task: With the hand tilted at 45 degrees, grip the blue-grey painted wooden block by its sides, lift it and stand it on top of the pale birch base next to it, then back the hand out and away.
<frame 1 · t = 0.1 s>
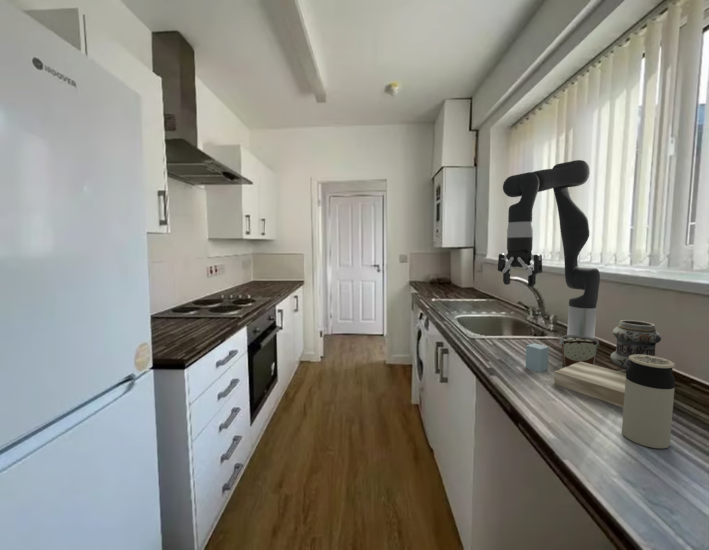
hand: (518, 285, 111), 29 cm above the countertop, tool pointing down, fingers open, 8 cm apart
food container: (574, 365, 119), on the countertop
blue-grey block: (536, 368, 115), on the countertop
birch base: (599, 388, 99), on the countertop
apothecary jar: (632, 378, 107), on the countertop
travel mug: (644, 439, 74), on the countertop
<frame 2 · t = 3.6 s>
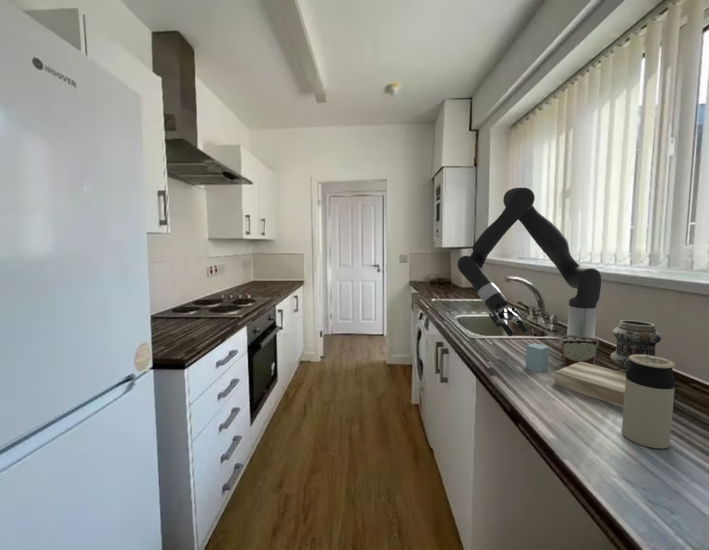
hand: (519, 333, 120), 11 cm above the countertop, tool tilted 45°, fingers open, 8 cm apart
nothing on the countertop moved.
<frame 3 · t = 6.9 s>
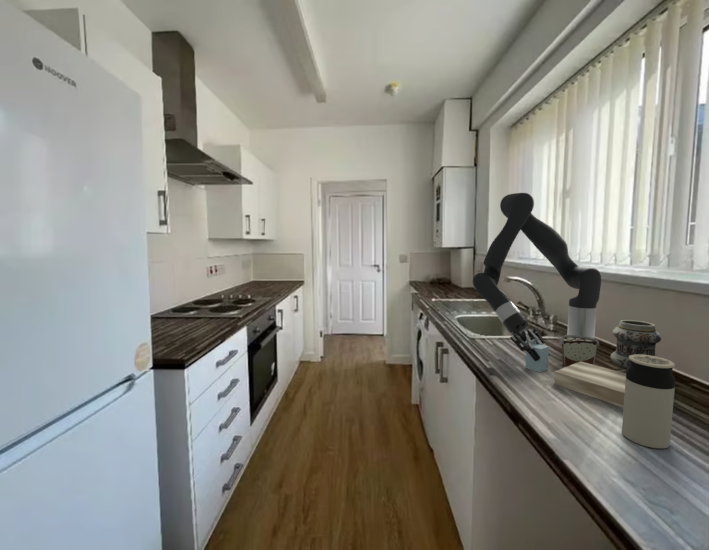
hand: (542, 358, 113), 4 cm above the countertop, tool tilted 45°, fingers closed on blue-grey block, 5 cm apart
blue-grey block: (536, 368, 115), on the countertop, touching gripper
everything else where it was.
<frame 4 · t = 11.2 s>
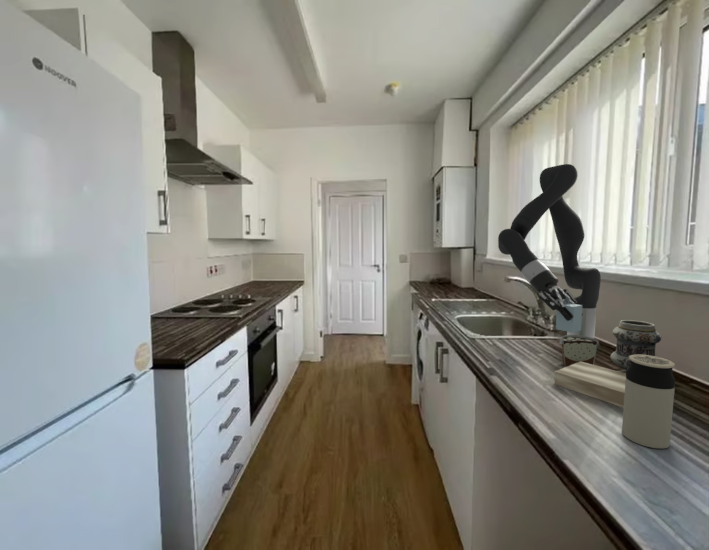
hand: (575, 317, 104), 20 cm above the countertop, tool tilted 45°, fingers closed on blue-grey block, 5 cm apart
blue-grey block: (568, 329, 106), point 16 cm above the countertop, touching gripper
everything else where it was.
when the fingers open (10 cm above the countertop, at t = 15.5 s): blue-grey block drops 1 cm, resting on birch base.
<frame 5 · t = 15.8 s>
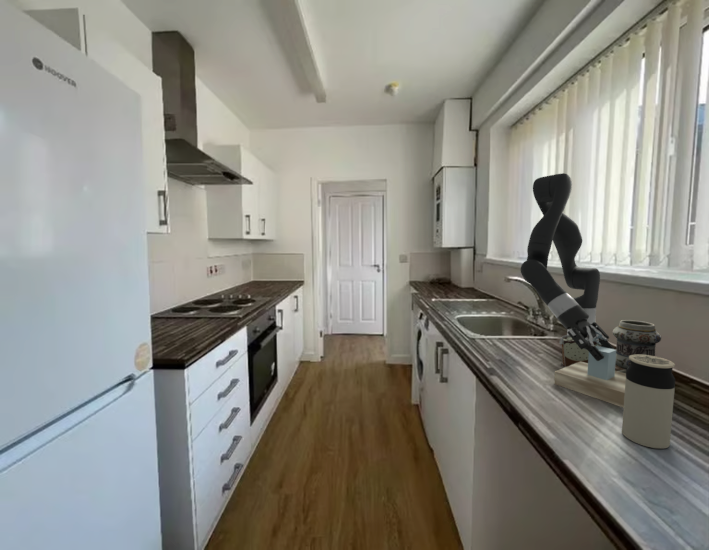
hand: (607, 356, 97), 10 cm above the countertop, tool tilted 45°, fingers open, 8 cm apart
blue-grey block: (600, 375, 99), point 4 cm above the countertop, touching birch base
everything else where it was.
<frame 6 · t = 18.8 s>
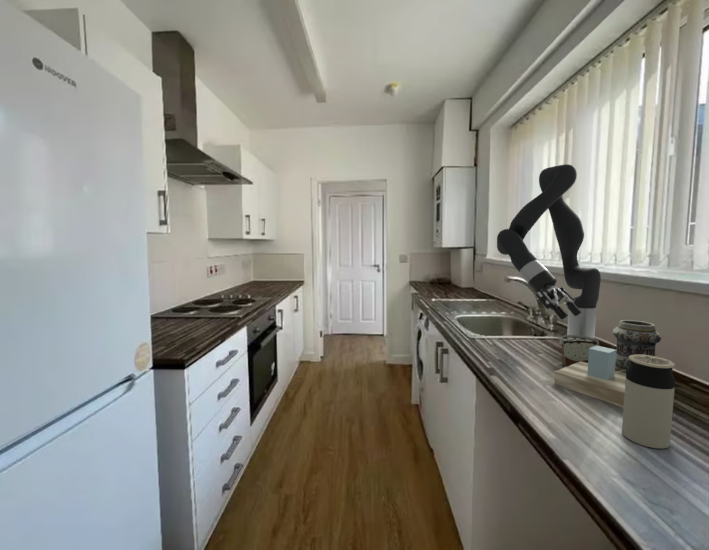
hand: (572, 316, 105), 20 cm above the countertop, tool tilted 45°, fingers open, 8 cm apart
nothing on the countertop moved.
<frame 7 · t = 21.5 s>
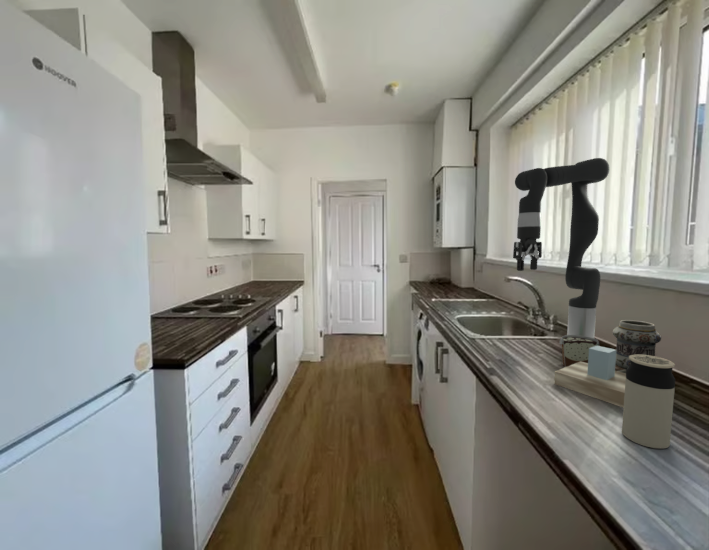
hand: (527, 270, 123), 33 cm above the countertop, tool pointing down, fingers open, 8 cm apart
nothing on the countertop moved.
at the end: blue-grey block inside the target area on the birch base (0.0 cm from its centre), point 4.0 cm above the birch base's base; blue-grey block tilted 0°; the gripper is holding nothing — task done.
